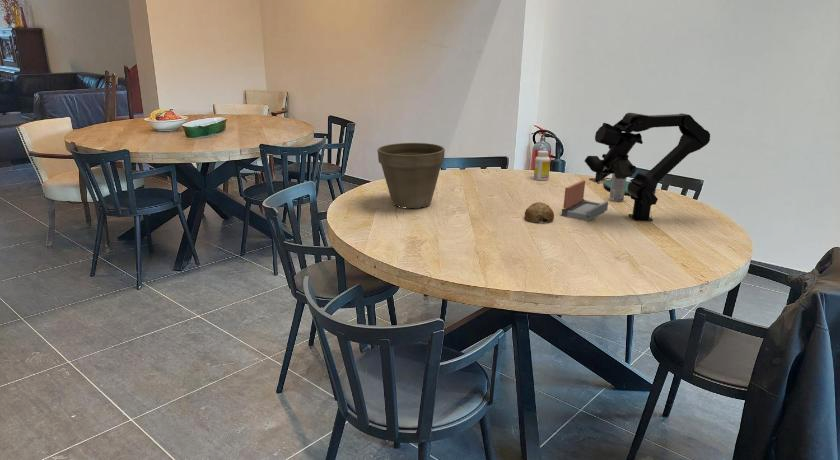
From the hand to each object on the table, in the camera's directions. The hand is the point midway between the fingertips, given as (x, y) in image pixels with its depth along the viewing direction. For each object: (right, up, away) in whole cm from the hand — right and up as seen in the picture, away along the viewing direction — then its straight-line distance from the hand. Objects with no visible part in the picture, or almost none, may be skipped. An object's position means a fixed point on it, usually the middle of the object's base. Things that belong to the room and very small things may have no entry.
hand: (596, 181), depth 200 cm
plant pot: (-67, -8, +13) cm, 69 cm away
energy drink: (+15, -6, +21) cm, 26 cm away
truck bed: (-2, -11, +4) cm, 12 cm away
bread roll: (-22, -14, -3) cm, 26 cm away
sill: (-7, -10, +7) cm, 14 cm away
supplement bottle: (-8, +6, +54) cm, 54 cm away
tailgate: (-7, -8, +6) cm, 12 cm away
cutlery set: (+24, +1, +41) cm, 48 cm away
